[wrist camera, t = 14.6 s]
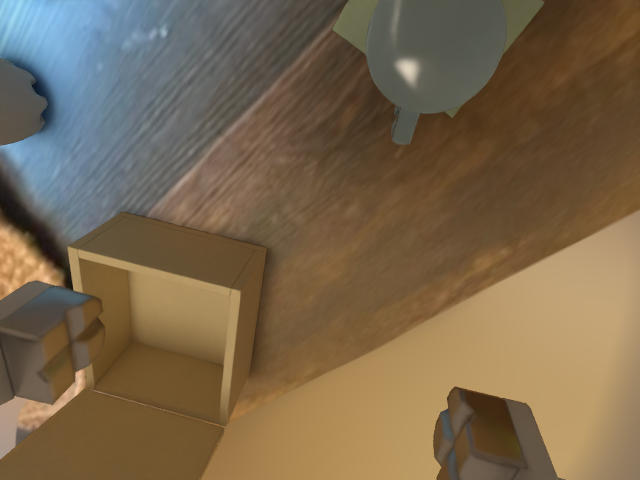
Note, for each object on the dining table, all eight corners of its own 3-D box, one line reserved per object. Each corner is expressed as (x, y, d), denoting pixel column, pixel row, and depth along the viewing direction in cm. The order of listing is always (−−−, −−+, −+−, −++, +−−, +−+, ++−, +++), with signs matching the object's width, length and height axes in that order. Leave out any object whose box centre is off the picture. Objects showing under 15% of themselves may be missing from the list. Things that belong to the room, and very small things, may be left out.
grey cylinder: (389, -18, 24) (386, -54, 14) (476, 2, 24) (532, -22, 14) (359, 105, 28) (341, 142, 18) (435, 124, 27) (457, 171, 18)
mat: (409, -105, 22) (409, -108, 22) (543, 3, 24) (545, 2, 23) (332, 29, 26) (331, 29, 26) (451, 117, 27) (452, 118, 27)
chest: (121, 211, 35) (67, 246, 30) (267, 247, 35) (241, 291, 29) (130, 339, 43) (87, 388, 37) (249, 371, 42) (226, 427, 36)
